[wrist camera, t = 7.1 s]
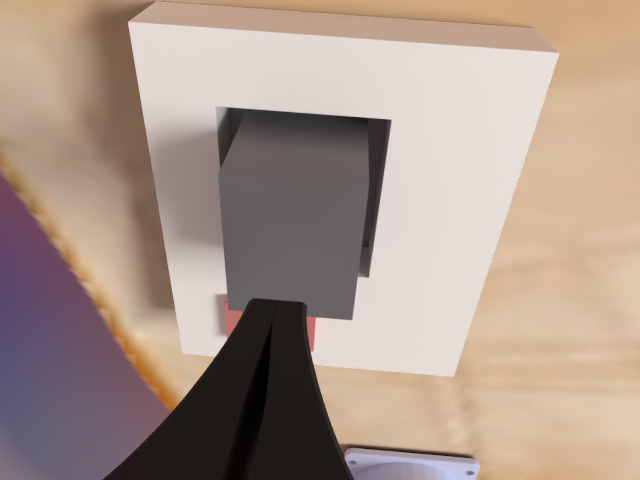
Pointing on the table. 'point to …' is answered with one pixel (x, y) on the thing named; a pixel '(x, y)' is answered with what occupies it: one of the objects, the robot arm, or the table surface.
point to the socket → (383, 150)
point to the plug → (295, 210)
